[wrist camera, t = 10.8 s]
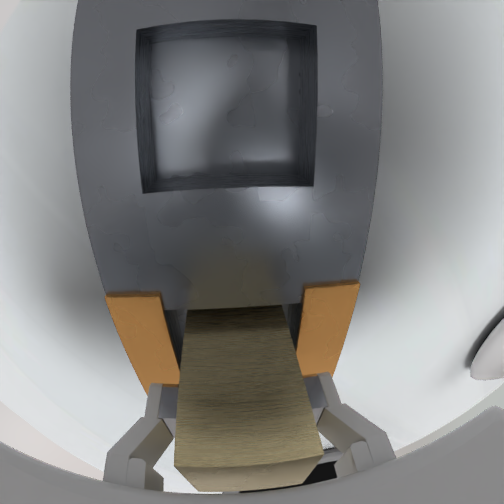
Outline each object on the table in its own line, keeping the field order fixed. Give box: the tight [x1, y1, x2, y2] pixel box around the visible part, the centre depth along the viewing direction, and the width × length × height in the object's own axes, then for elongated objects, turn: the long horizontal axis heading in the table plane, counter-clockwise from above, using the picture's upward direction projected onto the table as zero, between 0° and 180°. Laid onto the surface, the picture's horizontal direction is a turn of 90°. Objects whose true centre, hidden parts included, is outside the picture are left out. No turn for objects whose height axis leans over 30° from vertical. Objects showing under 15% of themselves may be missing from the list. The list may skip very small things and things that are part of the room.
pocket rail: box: [71, 0, 382, 396], centre depth 11 cm, size 20×10×3 cm, turn 0°
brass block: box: [174, 304, 324, 492], centre depth 9 cm, size 4×4×7 cm
